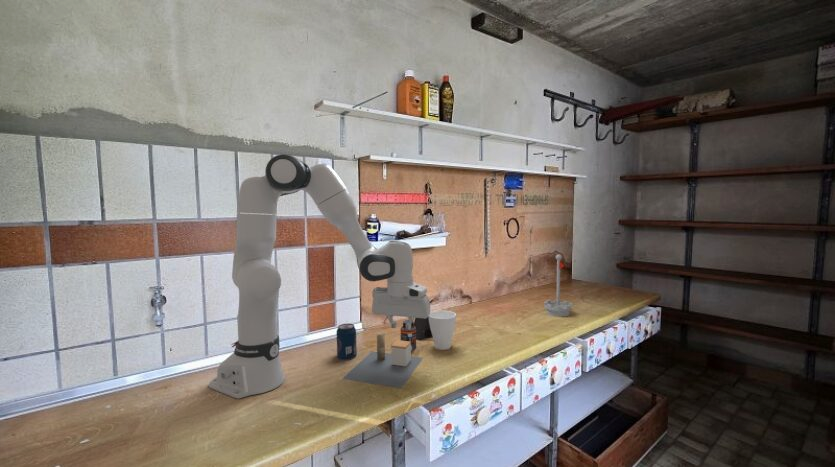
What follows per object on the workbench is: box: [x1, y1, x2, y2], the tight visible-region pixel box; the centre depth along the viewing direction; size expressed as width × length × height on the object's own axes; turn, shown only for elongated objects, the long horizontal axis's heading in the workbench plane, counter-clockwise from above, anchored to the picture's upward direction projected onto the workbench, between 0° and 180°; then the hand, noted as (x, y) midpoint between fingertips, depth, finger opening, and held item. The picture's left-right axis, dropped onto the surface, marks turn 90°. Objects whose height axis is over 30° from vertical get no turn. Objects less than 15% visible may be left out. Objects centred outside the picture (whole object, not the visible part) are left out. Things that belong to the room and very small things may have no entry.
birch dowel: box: [376, 332, 386, 361], centre depth 125 cm, size 3×3×9 cm
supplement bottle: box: [400, 319, 417, 352], centre depth 134 cm, size 6×6×11 cm
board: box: [341, 351, 424, 389], centre depth 118 cm, size 20×22×1 cm
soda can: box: [336, 323, 358, 361], centre depth 128 cm, size 7×7×12 cm
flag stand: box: [543, 253, 573, 318], centre depth 177 cm, size 13×13×30 cm
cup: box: [429, 309, 457, 351], centre depth 135 cm, size 10×10×14 cm
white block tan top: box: [390, 339, 412, 366], centre depth 121 cm, size 5×5×7 cm
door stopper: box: [413, 316, 433, 341], centre depth 149 cm, size 9×6×12 cm, turn 126°
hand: (400, 328), depth 121 cm, fingers open, 4 cm apart
